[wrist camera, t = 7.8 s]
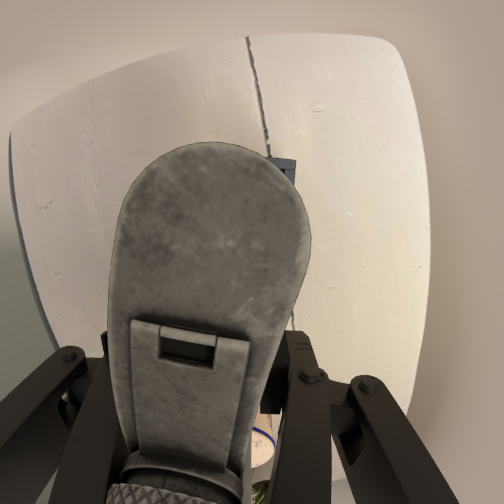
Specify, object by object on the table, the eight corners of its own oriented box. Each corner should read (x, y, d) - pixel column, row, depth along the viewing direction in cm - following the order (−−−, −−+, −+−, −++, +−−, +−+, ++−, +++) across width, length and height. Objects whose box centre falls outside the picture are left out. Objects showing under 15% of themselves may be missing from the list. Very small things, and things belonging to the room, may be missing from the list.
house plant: (315, 473, 39) (327, 540, 23) (244, 482, 40) (242, 548, 24) (312, 434, 36) (328, 520, 20) (225, 445, 36) (217, 529, 21)
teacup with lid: (264, 424, 35) (267, 488, 24) (202, 416, 35) (190, 479, 23) (283, 363, 32) (293, 434, 21) (209, 353, 32) (192, 423, 21)
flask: (207, 357, 22) (157, 567, 4) (214, 178, 19) (-33, 132, 1) (251, 361, 22) (247, 578, 4) (267, 181, 19) (404, 107, 1)
